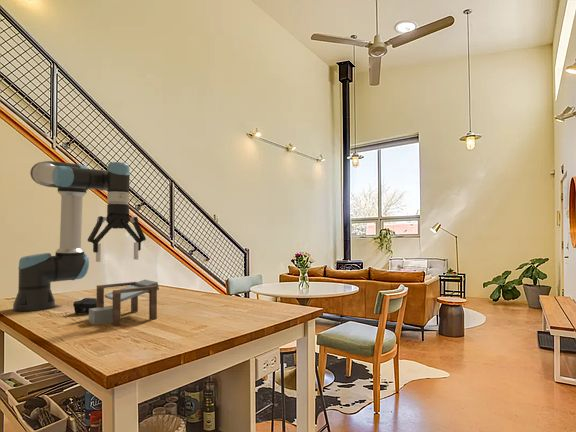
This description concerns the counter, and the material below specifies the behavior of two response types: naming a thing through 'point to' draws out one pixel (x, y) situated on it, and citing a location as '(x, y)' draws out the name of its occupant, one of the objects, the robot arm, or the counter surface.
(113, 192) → the robot arm
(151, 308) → the trapdoor frame
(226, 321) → the counter surface
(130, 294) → the trapdoor
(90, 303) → the rock
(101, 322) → the grey rectangular block
